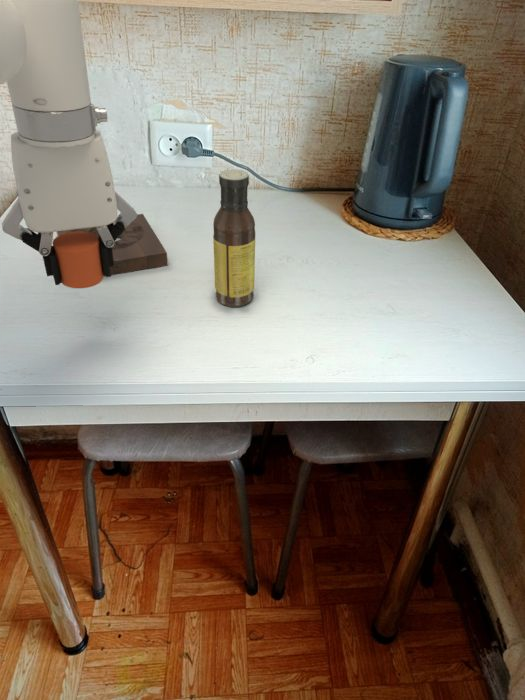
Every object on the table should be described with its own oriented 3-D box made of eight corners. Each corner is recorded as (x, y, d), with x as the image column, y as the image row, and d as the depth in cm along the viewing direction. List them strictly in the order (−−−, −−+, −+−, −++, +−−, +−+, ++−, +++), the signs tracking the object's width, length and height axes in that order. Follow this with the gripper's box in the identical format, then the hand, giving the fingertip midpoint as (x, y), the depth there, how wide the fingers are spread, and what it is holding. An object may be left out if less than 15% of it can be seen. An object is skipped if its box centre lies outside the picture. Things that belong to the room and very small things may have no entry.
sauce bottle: (259, 292, 83) (266, 170, 70) (245, 312, 78) (251, 186, 66) (222, 283, 84) (223, 162, 72) (207, 302, 80) (205, 177, 67)
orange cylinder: (63, 291, 61) (55, 254, 58) (57, 270, 65) (49, 234, 61) (107, 284, 63) (102, 248, 60) (99, 264, 66) (94, 229, 63)
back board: (71, 281, 82) (68, 268, 80) (57, 236, 93) (54, 223, 92) (167, 265, 88) (166, 252, 86) (143, 224, 99) (142, 212, 97)
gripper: (130, 109, 58) (142, 252, 69) (-39, 115, 52) (5, 271, 63) (147, 128, 53) (157, 279, 64) (-38, 137, 47) (9, 303, 58)
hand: (81, 274), depth 63 cm, fingers closed on orange cylinder, 5 cm apart
